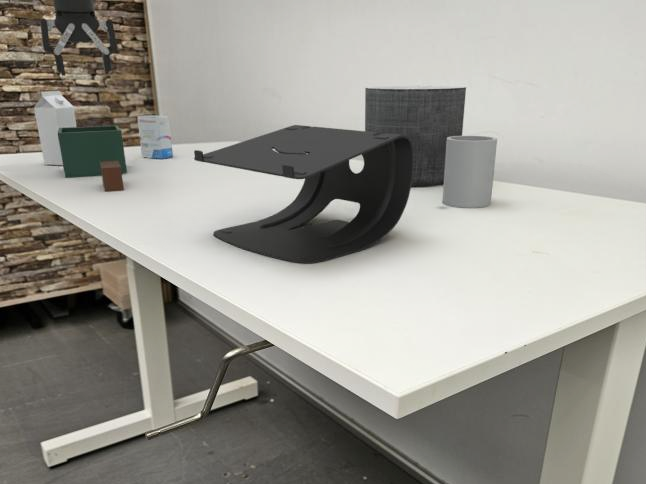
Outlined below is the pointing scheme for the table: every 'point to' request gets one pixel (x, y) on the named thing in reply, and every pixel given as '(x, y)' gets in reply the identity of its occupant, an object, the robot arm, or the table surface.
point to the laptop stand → (322, 189)
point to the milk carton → (53, 124)
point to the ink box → (155, 136)
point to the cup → (469, 171)
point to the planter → (418, 122)
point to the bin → (90, 149)
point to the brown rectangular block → (111, 176)
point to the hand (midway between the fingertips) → (85, 74)
